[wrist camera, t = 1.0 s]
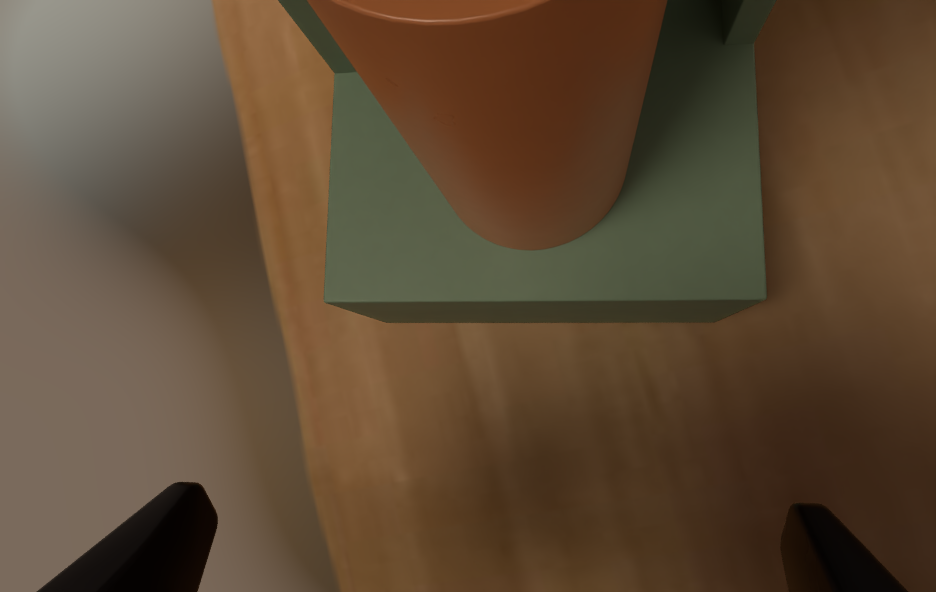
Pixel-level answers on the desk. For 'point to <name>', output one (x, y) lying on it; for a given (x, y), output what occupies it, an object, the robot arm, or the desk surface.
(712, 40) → the green c-shaped stand
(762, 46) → the desk surface
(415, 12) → the tea tin
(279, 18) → the desk surface
